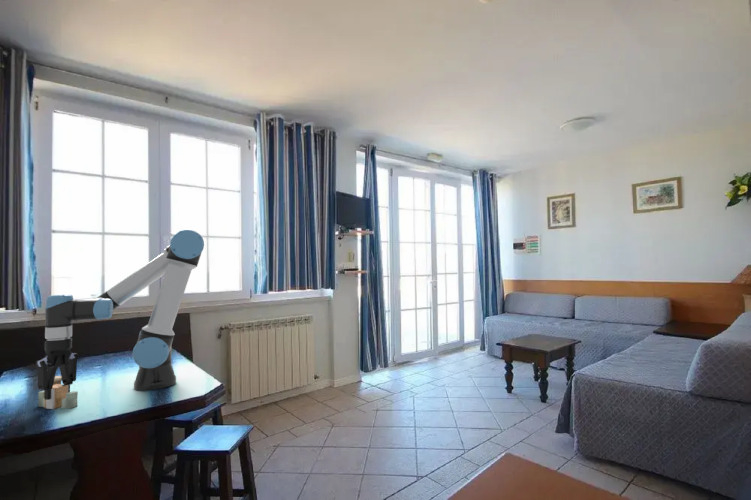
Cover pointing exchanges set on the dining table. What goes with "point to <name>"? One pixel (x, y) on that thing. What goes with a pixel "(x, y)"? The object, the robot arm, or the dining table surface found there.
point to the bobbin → (57, 380)
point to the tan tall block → (59, 394)
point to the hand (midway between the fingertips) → (57, 405)
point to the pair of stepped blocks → (66, 402)
